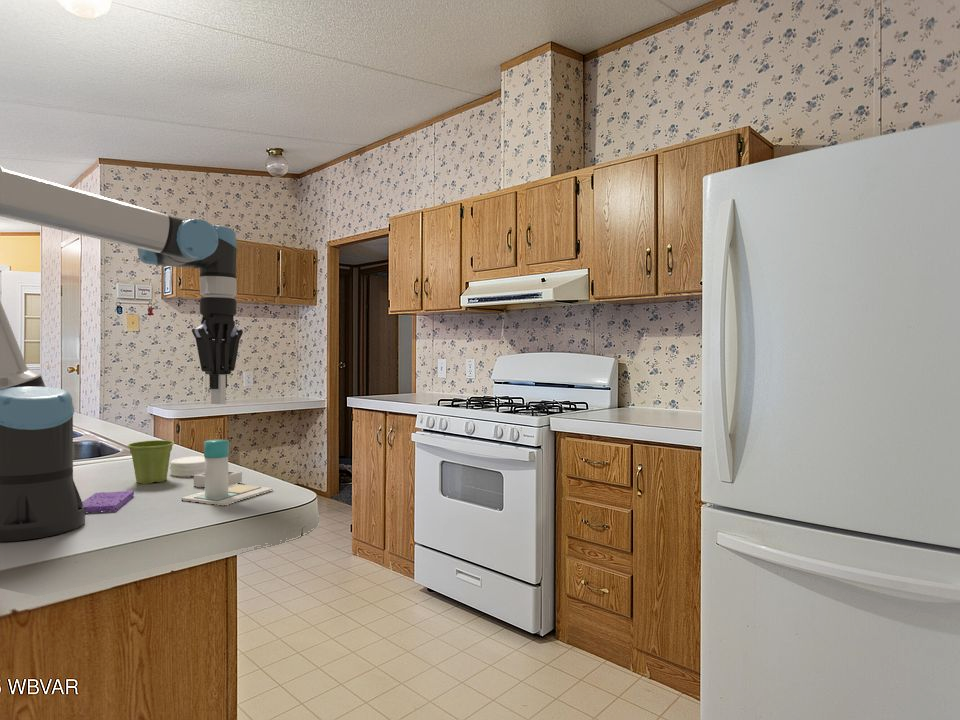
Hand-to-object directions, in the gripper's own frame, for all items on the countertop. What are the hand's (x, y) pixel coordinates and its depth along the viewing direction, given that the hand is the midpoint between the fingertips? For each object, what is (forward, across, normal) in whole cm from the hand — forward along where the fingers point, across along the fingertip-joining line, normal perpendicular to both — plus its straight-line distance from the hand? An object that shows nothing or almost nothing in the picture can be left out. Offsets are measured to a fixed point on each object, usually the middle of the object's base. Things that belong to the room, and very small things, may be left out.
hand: (218, 403), depth 139 cm
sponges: (+19, +22, -7) cm, 30 cm away
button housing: (+18, 0, 0) cm, 18 cm away
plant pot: (+18, +3, -16) cm, 25 cm away
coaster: (+19, -8, -16) cm, 25 cm away
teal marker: (+17, +10, +9) cm, 22 cm away
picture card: (+18, +7, +10) cm, 22 cm away
